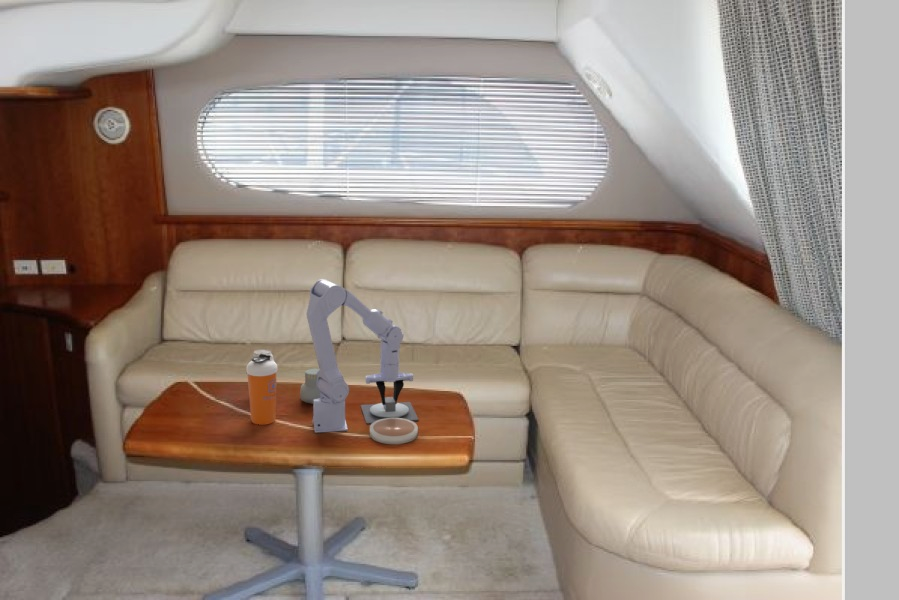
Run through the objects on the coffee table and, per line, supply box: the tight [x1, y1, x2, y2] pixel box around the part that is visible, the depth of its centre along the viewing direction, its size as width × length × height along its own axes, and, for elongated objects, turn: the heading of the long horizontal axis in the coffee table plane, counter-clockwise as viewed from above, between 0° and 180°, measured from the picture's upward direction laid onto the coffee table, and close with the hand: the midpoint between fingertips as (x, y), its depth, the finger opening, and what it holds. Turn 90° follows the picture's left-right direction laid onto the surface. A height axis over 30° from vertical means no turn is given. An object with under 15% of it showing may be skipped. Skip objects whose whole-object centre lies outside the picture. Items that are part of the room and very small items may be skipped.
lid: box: [370, 396, 409, 418], centre depth 225 cm, size 12×12×4 cm
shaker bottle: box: [245, 354, 278, 426], centre depth 216 cm, size 9×9×20 cm
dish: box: [369, 418, 419, 445], centre depth 212 cm, size 14×14×2 cm
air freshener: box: [299, 368, 320, 405], centre depth 233 cm, size 11×8×10 cm
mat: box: [360, 401, 420, 425], centre depth 227 cm, size 16×14×1 cm
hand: (389, 403), depth 226 cm, fingers closed on lid, 3 cm apart
